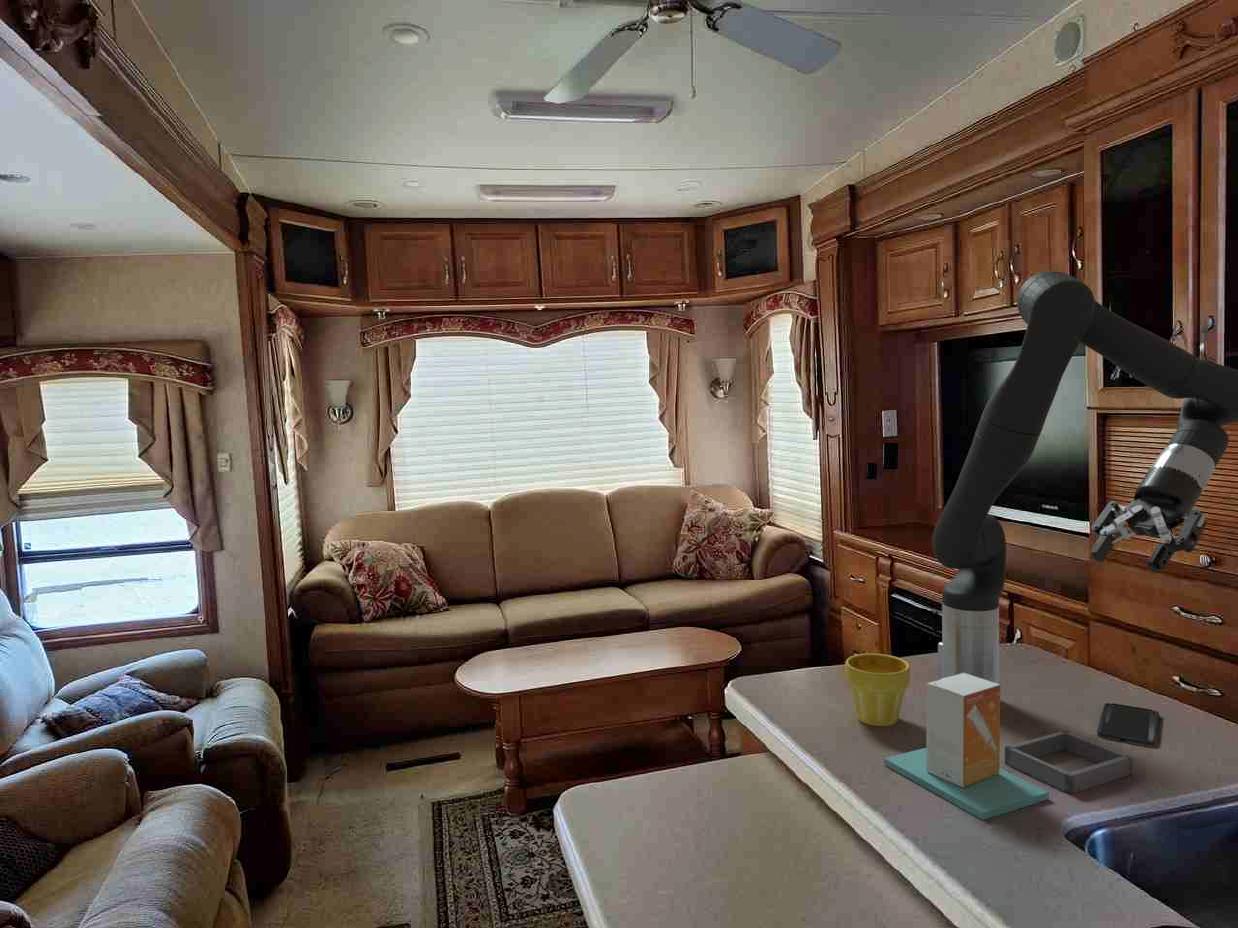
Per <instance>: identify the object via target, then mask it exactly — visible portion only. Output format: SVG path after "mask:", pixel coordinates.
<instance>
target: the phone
mask: <svg viewBox="0 0 1238 928" xmlns="http://www.w3.org/2000/svg"><path fill="white" fill-rule="evenodd" d="M1159 721H1160V712H1159V711H1157V710H1154V709H1151V708H1150V709H1149V708H1144V707H1138V706H1132V705H1125V704H1118V703H1113V702H1105V703H1104V705H1103V708H1102V711H1101V716H1100V719H1099V722H1098V725H1097V728H1096V736H1097V737H1099V738H1100V737H1102V738H1101V739H1104V738H1105V740H1110V741H1114V742H1115V741H1116V742H1119V743H1127V744H1131V745H1137V746H1143V747H1148V748H1151V747H1152V748H1153V747H1156V744H1157V736H1158V729H1159V728H1158V727H1159Z"/></svg>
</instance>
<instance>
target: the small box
mask: <svg viewBox="0 0 1238 928" xmlns="http://www.w3.org/2000/svg"><path fill="white" fill-rule="evenodd" d="M925 723H926V727H925V728H926V743H925V744H926V747H925V748H926V771H927V772H929V773H931V774H933V775H935V776H938V777H940V778H942V779H944V780H947V781H949V782H951V783H953V784H956V785H958V786H960V787H963V788H964V787H966V786H968V785H971V784H973V783H975V782H978V781H980V780H983V779H986V778H988V777H991V776H993V775H997V774H999V768H1000V762H1001V761H1000V756H1001V755H1000V752H1001V749H1000V747H1001V746H1000V745H1001V743H1000V742H1001V741H1000V739H1001V729H1000V728H1001V684H1000V683H999V684H997V683H994V682H991V681H988V680H985V679H982V678H978V677H975V676H972V675H969V674H966V673H961V674H958V675H954V676H950V677H945V678H942V679H940V680H938V679H937V680H935V681H930V682H928V683H926V722H925Z"/></svg>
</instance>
